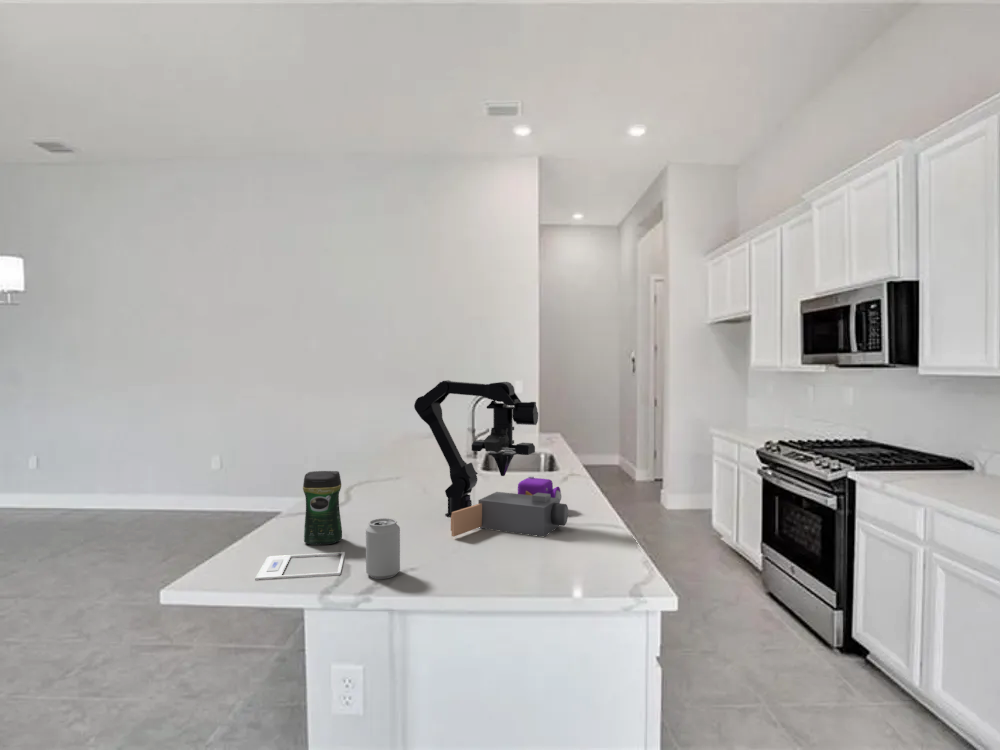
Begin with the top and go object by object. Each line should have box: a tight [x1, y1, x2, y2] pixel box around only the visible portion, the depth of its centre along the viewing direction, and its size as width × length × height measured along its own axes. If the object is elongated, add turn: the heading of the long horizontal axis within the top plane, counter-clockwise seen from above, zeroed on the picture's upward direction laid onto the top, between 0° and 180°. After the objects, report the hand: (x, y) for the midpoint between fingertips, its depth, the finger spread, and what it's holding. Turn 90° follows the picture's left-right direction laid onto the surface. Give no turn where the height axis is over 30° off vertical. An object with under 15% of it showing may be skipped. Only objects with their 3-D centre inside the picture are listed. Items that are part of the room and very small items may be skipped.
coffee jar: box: [302, 470, 343, 546], centre depth 161 cm, size 10×8×19 cm
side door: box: [450, 503, 482, 537], centre depth 168 cm, size 12×2×6 cm, turn 144°
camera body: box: [477, 491, 569, 537], centre depth 174 cm, size 23×12×10 cm, turn 64°
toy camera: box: [517, 475, 562, 502], centre depth 194 cm, size 11×14×10 cm
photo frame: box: [254, 551, 346, 581], centre depth 142 cm, size 15×1×18 cm
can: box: [365, 517, 401, 580], centre depth 137 cm, size 8×8×12 cm
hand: (502, 475), depth 183 cm, fingers closed
